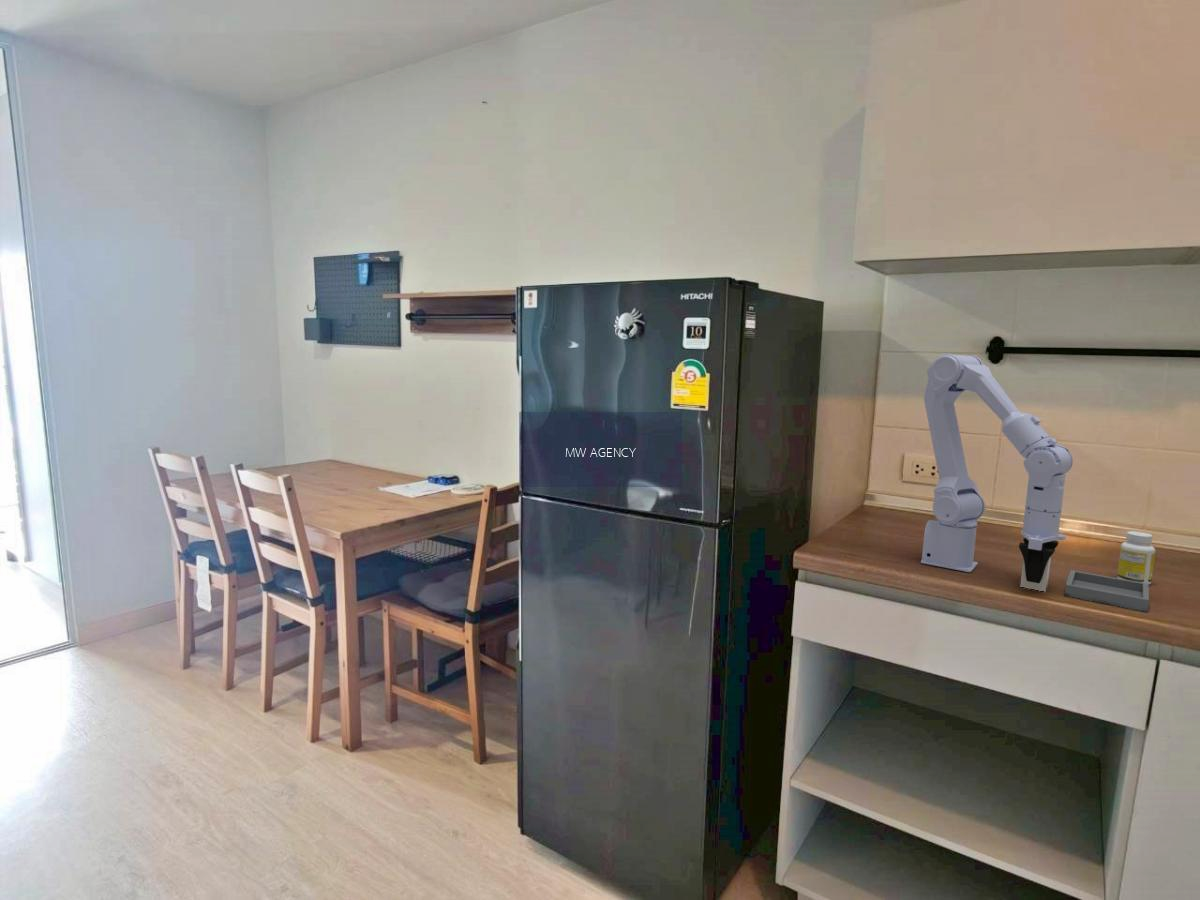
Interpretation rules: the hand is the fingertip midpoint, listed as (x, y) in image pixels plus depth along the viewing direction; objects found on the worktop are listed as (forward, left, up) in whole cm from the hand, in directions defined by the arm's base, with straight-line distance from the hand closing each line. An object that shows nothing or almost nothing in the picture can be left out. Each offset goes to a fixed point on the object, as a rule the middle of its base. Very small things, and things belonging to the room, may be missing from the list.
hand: (1034, 579), depth 129 cm
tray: (+11, +4, -2) cm, 12 cm away
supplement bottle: (+15, +19, -2) cm, 24 cm away
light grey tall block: (0, 0, -2) cm, 2 cm away
